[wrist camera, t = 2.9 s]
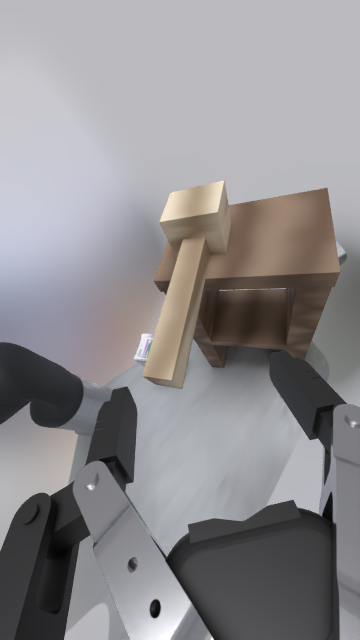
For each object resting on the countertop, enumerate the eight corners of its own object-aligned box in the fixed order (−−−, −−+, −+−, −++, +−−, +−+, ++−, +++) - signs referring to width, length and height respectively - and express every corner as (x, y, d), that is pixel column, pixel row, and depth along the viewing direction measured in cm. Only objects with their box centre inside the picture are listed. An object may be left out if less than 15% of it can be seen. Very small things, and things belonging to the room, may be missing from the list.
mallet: (138, 381, 19) (104, 362, 15) (184, 229, 28) (171, 192, 24) (203, 392, 17) (183, 372, 13) (231, 222, 26) (224, 180, 22)
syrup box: (183, 382, 51) (158, 362, 40) (161, 379, 54) (132, 358, 42) (188, 360, 54) (166, 334, 42) (167, 357, 56) (141, 332, 45)
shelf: (211, 368, 51) (153, 281, 25) (218, 323, 56) (176, 214, 31) (297, 378, 44) (340, 272, 18) (296, 326, 49) (327, 187, 24)
